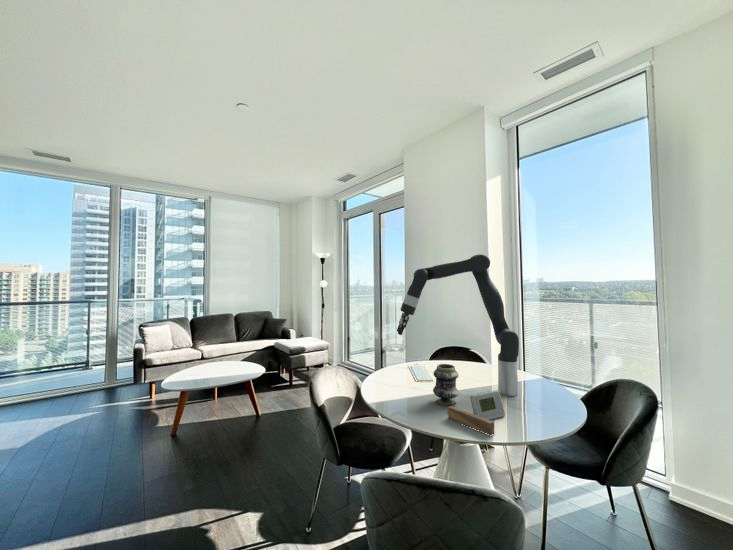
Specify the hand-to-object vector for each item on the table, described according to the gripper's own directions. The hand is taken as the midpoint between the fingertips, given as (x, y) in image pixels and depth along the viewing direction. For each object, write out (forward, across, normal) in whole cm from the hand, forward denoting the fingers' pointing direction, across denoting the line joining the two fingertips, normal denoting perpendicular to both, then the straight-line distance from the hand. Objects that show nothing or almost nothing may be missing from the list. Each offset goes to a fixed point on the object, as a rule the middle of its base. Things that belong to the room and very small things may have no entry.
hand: (398, 333), depth 173 cm
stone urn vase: (+22, -14, -31) cm, 41 cm away
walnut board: (+20, -39, -36) cm, 56 cm away
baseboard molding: (+25, +34, -26) cm, 49 cm away
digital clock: (+17, -30, -45) cm, 57 cm away
